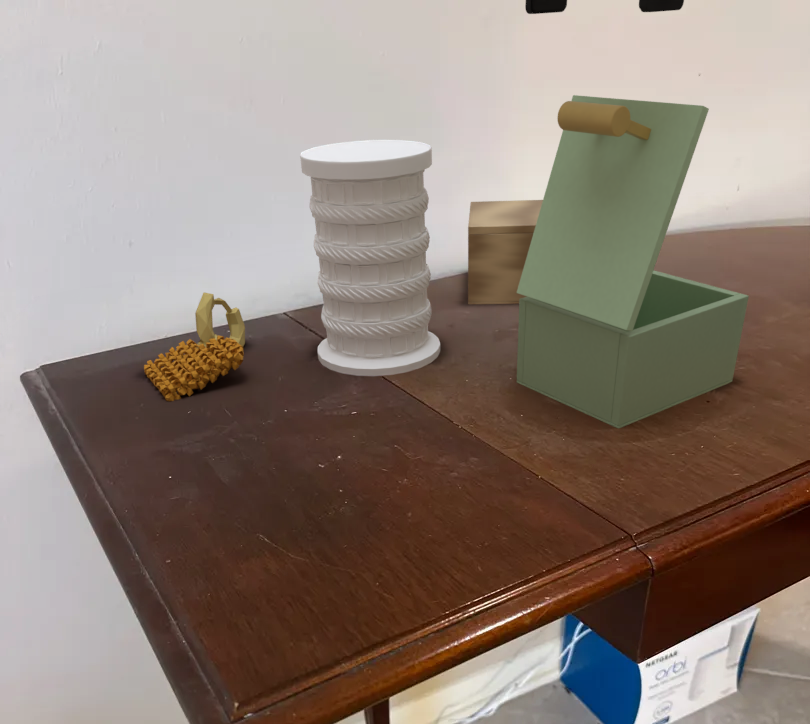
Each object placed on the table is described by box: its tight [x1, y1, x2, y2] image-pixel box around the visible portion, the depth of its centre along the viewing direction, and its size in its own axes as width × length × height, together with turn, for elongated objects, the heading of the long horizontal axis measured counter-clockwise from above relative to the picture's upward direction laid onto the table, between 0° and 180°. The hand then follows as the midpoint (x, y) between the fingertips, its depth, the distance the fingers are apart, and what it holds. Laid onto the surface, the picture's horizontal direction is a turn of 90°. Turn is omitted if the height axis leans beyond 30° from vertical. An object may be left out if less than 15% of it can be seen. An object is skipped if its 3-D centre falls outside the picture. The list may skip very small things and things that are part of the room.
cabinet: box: [467, 199, 543, 305], centre depth 89 cm, size 14×12×9 cm
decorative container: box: [299, 139, 441, 377], centre depth 72 cm, size 12×12×18 cm
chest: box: [516, 269, 750, 429], centre depth 67 cm, size 14×12×8 cm
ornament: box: [143, 292, 246, 402], centre depth 74 cm, size 7×10×15 cm
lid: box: [517, 94, 710, 331], centre depth 57 cm, size 14×12×5 cm
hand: (599, 11), depth 51 cm, fingers open, 9 cm apart
